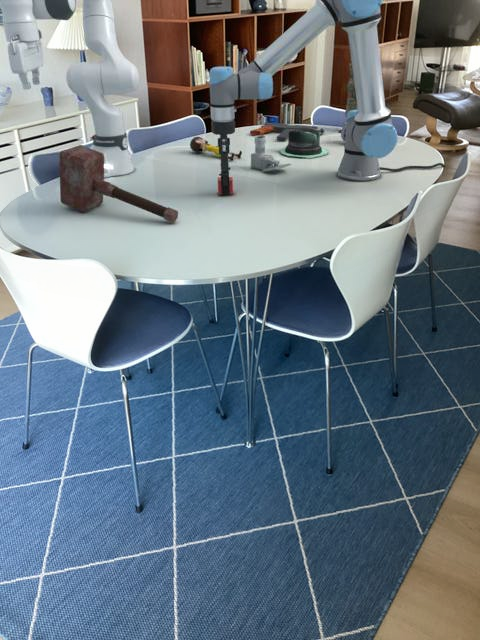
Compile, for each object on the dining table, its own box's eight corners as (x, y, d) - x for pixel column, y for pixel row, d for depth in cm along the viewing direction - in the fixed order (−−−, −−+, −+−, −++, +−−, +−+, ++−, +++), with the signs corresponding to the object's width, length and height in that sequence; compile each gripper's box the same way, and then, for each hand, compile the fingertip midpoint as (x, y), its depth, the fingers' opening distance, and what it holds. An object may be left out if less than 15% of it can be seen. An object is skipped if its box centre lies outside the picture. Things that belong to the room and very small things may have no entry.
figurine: (227, 151, 220) (181, 135, 232) (225, 170, 224) (181, 153, 236) (247, 145, 228) (203, 130, 241) (246, 163, 233) (202, 147, 245)
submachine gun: (243, 132, 260) (267, 122, 278) (243, 138, 261) (267, 127, 280) (305, 138, 246) (326, 127, 265) (305, 144, 248) (326, 133, 266)
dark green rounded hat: (332, 145, 241) (326, 158, 224) (294, 164, 249) (286, 177, 233) (317, 113, 235) (310, 124, 219) (279, 133, 244) (269, 145, 228)
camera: (261, 133, 214) (291, 139, 206) (260, 163, 220) (290, 170, 212) (246, 137, 209) (277, 143, 200) (246, 168, 215) (276, 176, 206)
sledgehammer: (186, 184, 163) (79, 143, 174) (168, 194, 155) (57, 150, 167) (180, 236, 173) (79, 194, 184) (163, 248, 165) (58, 203, 177)
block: (233, 194, 187) (232, 180, 184) (218, 194, 187) (217, 180, 184) (232, 190, 190) (232, 176, 188) (218, 191, 190) (217, 177, 188)
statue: (367, 132, 266) (374, 63, 251) (349, 133, 264) (355, 64, 249) (357, 127, 275) (362, 61, 260) (339, 129, 273) (344, 62, 258)
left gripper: (21, 36, 147) (32, 91, 154) (43, 31, 165) (51, 81, 172) (-3, 36, 147) (9, 92, 154) (21, 32, 165) (31, 82, 172)
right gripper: (235, 125, 169) (237, 199, 181) (234, 114, 184) (235, 184, 196) (210, 125, 169) (214, 200, 181) (211, 115, 184) (214, 184, 196)
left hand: (32, 86), depth 163 cm, fingers open, 8 cm apart
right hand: (225, 191), depth 188 cm, fingers closed on block, 4 cm apart
